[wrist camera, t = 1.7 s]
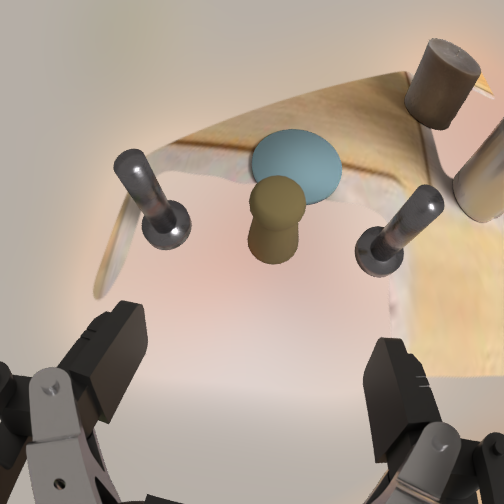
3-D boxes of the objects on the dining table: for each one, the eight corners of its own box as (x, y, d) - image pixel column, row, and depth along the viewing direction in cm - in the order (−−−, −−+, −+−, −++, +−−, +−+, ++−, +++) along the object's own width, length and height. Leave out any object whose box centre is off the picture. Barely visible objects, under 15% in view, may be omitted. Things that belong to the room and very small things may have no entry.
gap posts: (398, 234, 37) (452, 177, 24) (398, 279, 35) (461, 237, 22) (152, 203, 39) (112, 136, 26) (140, 246, 37) (89, 190, 24)
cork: (241, 223, 38) (236, 173, 28) (289, 211, 39) (299, 159, 28) (255, 270, 36) (254, 232, 26) (305, 256, 37) (323, 215, 26)
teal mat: (340, 139, 42) (341, 136, 42) (340, 211, 39) (341, 208, 38) (258, 128, 43) (258, 125, 42) (245, 199, 39) (245, 196, 38)
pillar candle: (457, 134, 44) (495, 76, 30) (413, 126, 44) (447, 59, 30) (438, 97, 47) (467, 41, 33) (396, 88, 47) (421, 25, 33)
